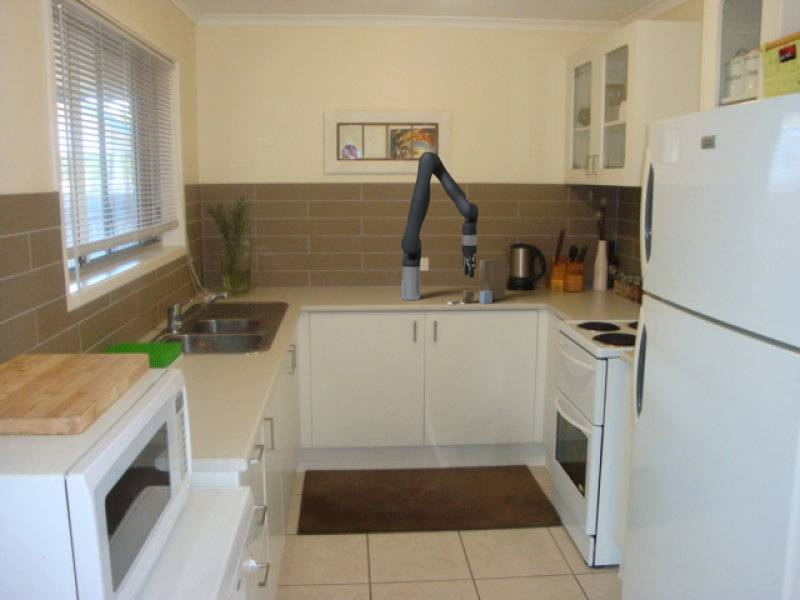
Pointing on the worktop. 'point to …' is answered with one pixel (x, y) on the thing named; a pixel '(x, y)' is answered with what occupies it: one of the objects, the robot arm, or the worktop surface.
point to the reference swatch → (455, 303)
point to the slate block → (485, 297)
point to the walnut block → (468, 296)
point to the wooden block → (492, 277)
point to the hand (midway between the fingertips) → (469, 276)
